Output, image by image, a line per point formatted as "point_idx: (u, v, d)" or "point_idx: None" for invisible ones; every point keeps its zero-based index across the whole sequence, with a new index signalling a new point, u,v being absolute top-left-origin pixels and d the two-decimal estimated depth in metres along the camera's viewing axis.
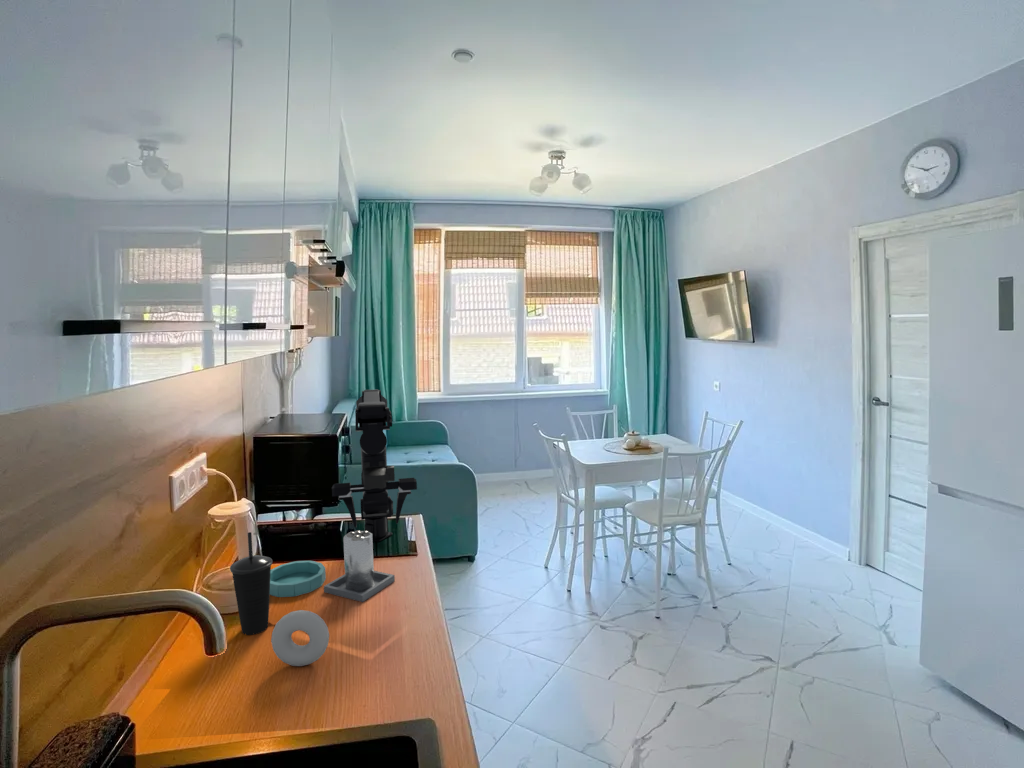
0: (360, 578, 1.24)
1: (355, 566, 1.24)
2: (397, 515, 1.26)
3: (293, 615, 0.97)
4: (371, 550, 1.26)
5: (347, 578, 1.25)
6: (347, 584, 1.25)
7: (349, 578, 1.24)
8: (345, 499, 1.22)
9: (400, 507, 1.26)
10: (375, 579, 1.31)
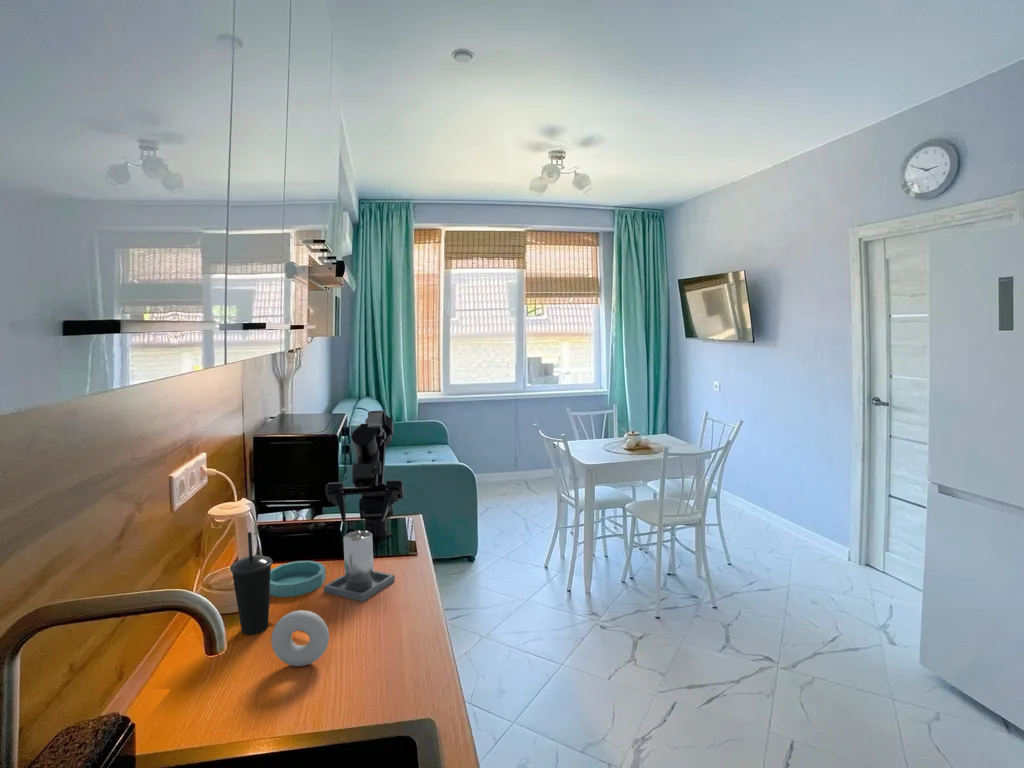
0: (360, 578, 1.24)
1: (355, 566, 1.24)
2: (382, 512, 1.35)
3: (293, 615, 0.97)
4: (371, 550, 1.26)
5: (347, 578, 1.25)
6: (347, 584, 1.25)
7: (349, 578, 1.24)
8: (336, 494, 1.35)
9: (386, 505, 1.36)
10: (375, 579, 1.31)
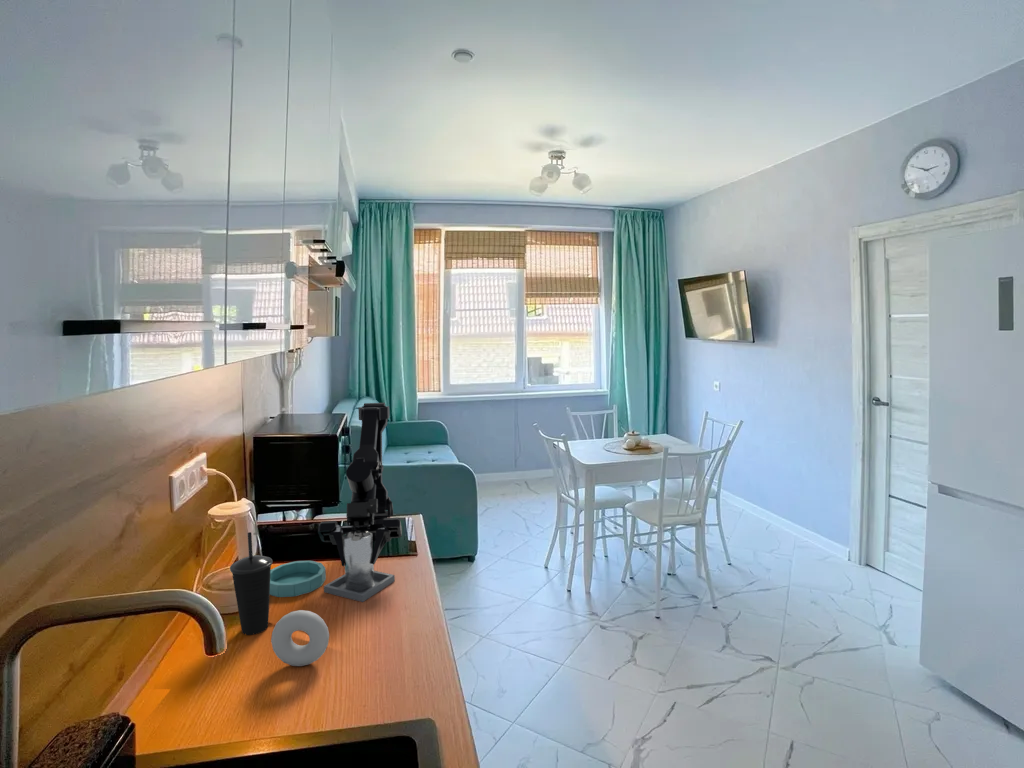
0: (360, 578, 1.24)
1: (355, 566, 1.24)
2: (373, 554, 1.26)
3: (293, 615, 0.97)
4: (371, 550, 1.26)
5: (347, 578, 1.25)
6: (347, 584, 1.25)
7: (349, 578, 1.24)
8: (335, 534, 1.27)
9: (377, 546, 1.27)
10: (375, 579, 1.31)
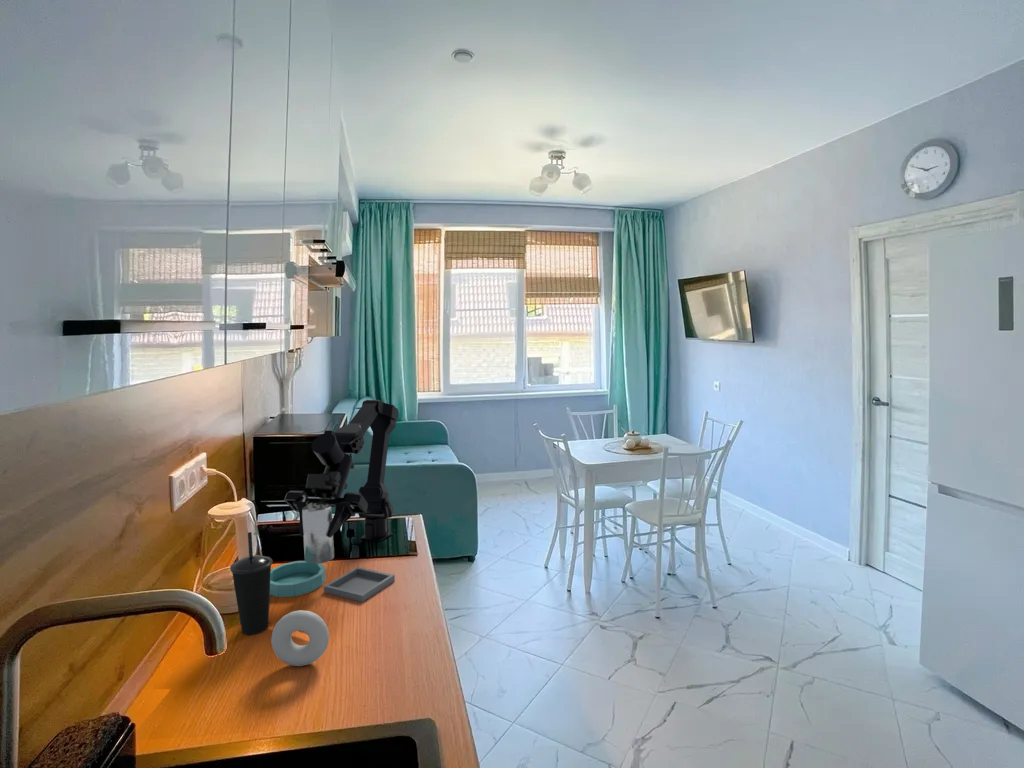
0: (315, 550, 1.23)
1: (310, 537, 1.23)
2: (330, 527, 1.25)
3: (293, 615, 0.97)
4: (328, 523, 1.25)
5: (304, 548, 1.25)
6: None
7: (305, 549, 1.24)
8: (298, 504, 1.28)
9: (335, 520, 1.26)
10: (375, 579, 1.31)
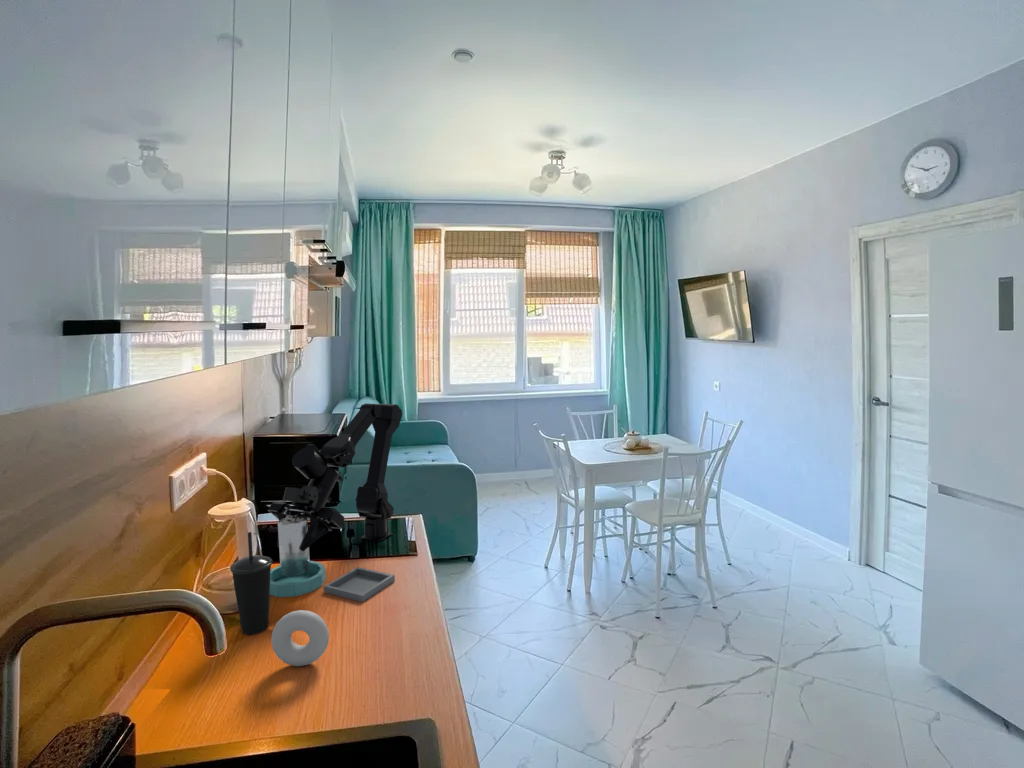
0: (287, 562, 1.26)
1: (283, 549, 1.26)
2: (303, 541, 1.26)
3: (293, 615, 0.97)
4: (301, 537, 1.26)
5: (280, 560, 1.28)
6: None
7: (280, 560, 1.27)
8: (278, 515, 1.31)
9: (309, 534, 1.27)
10: (375, 579, 1.31)
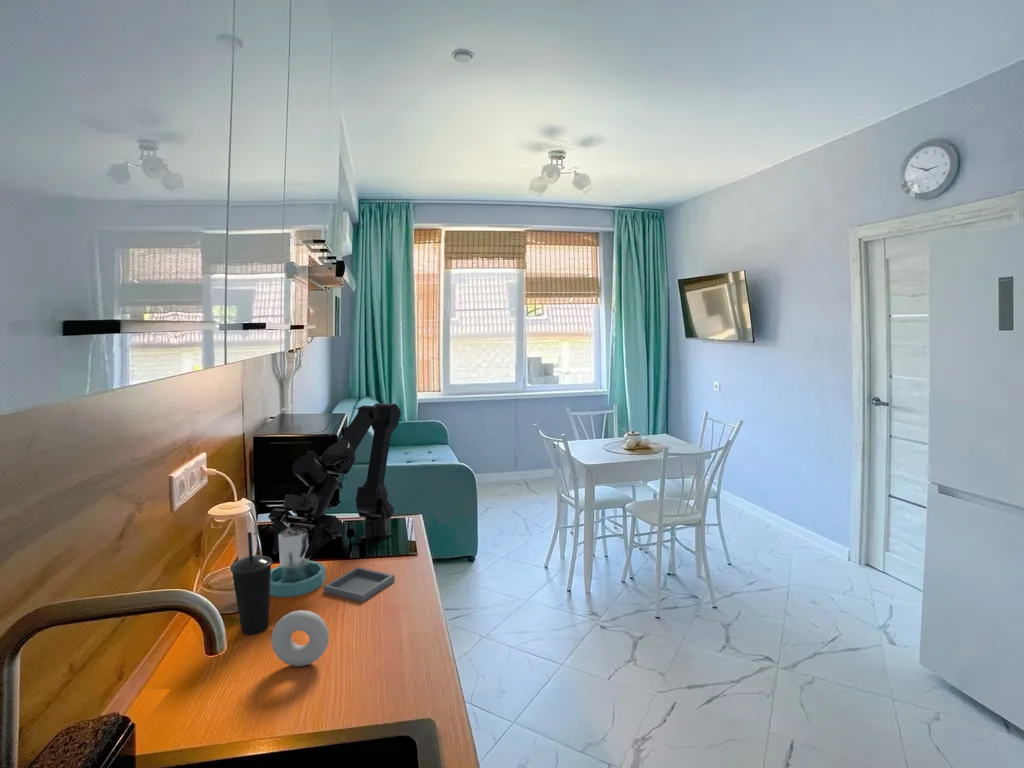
0: (288, 575, 1.26)
1: (283, 562, 1.26)
2: (307, 549, 1.26)
3: (293, 615, 0.97)
4: (301, 549, 1.27)
5: None
6: None
7: None
8: (274, 522, 1.31)
9: (313, 542, 1.27)
10: (375, 579, 1.31)
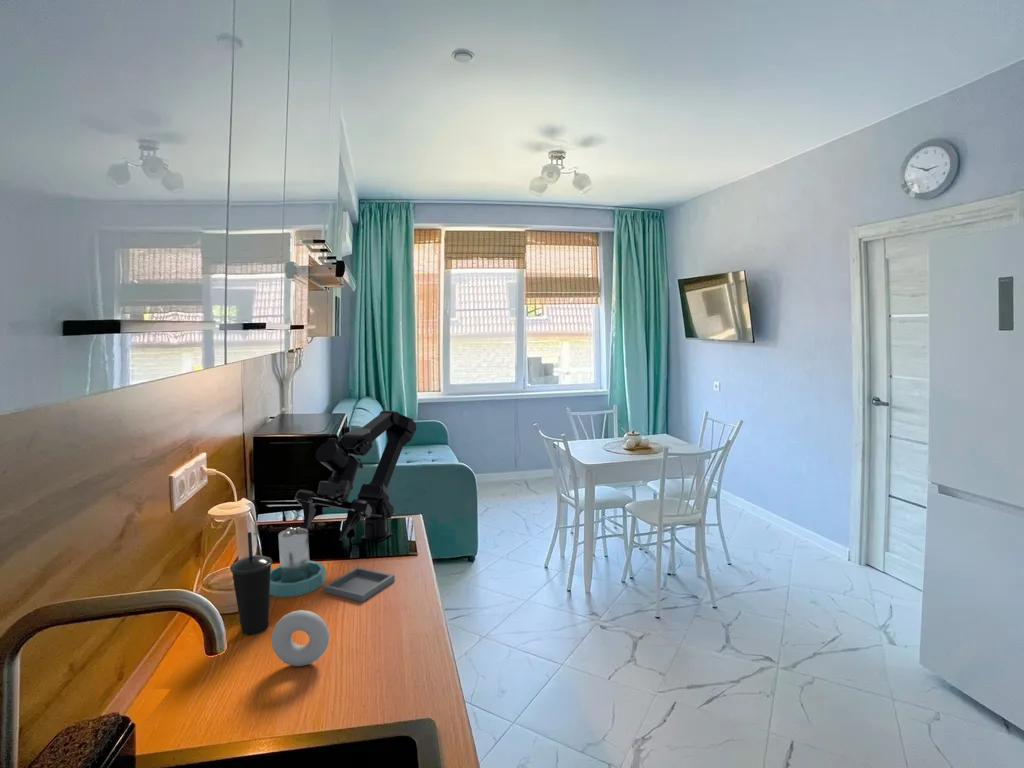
0: (288, 575, 1.26)
1: (283, 562, 1.26)
2: (342, 532, 1.36)
3: (293, 615, 0.97)
4: (301, 549, 1.27)
5: None
6: None
7: None
8: (303, 503, 1.38)
9: (346, 525, 1.37)
10: (375, 579, 1.31)
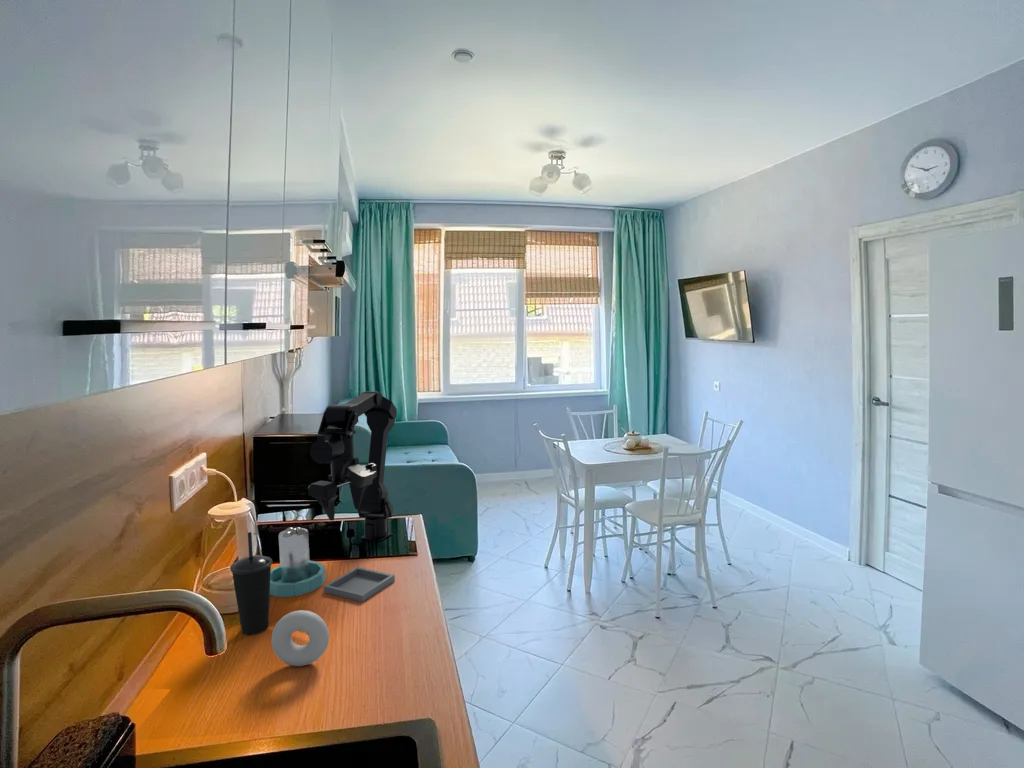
0: (288, 575, 1.26)
1: (283, 562, 1.26)
2: (359, 502, 1.44)
3: (293, 615, 0.97)
4: (301, 549, 1.27)
5: None
6: None
7: None
8: (333, 498, 1.33)
9: (362, 495, 1.45)
10: (375, 579, 1.31)
